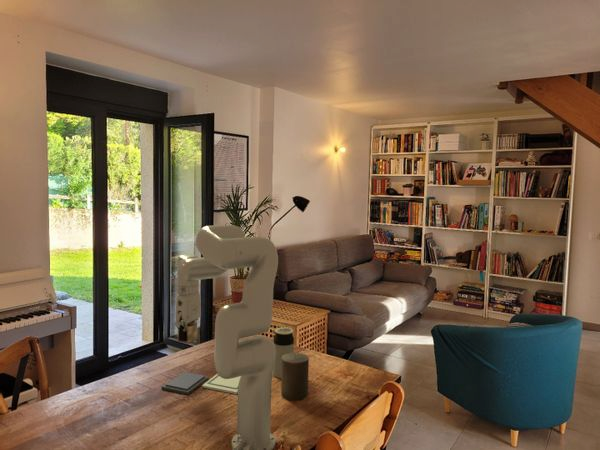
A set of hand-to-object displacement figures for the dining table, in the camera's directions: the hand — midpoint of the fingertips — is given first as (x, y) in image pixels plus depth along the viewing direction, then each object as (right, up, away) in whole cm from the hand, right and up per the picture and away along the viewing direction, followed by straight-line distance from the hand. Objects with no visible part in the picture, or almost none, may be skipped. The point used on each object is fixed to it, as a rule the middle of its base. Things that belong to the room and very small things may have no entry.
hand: (187, 337), depth 168 cm
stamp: (0, -1, 0) cm, 1 cm away
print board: (+14, -18, +7) cm, 24 cm away
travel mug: (+34, -18, +14) cm, 41 cm away
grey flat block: (-2, -18, +4) cm, 19 cm away
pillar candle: (+39, -20, -2) cm, 44 cm away
